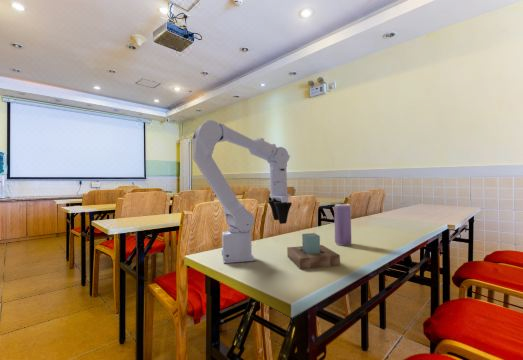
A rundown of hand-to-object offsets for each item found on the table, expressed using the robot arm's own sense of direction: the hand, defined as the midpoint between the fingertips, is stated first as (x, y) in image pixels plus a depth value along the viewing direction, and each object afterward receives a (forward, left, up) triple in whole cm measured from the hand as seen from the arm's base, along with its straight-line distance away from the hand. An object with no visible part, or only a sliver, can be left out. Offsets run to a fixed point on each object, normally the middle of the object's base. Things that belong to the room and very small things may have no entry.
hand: (279, 221), depth 89 cm
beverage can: (+26, +4, -11) cm, 28 cm away
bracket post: (+6, -12, -10) cm, 17 cm away
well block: (+7, -12, -10) cm, 17 cm away
